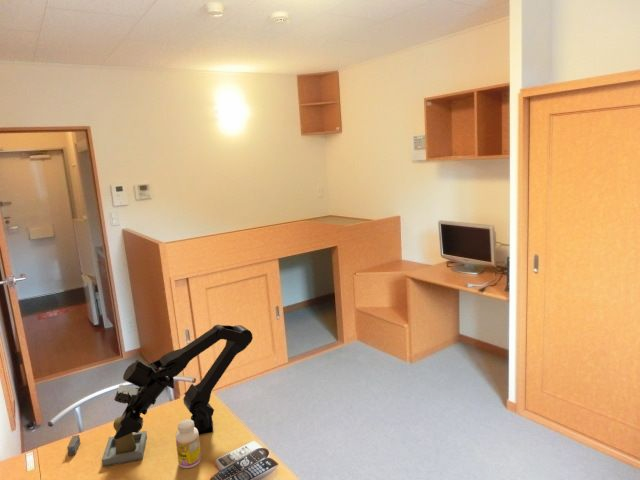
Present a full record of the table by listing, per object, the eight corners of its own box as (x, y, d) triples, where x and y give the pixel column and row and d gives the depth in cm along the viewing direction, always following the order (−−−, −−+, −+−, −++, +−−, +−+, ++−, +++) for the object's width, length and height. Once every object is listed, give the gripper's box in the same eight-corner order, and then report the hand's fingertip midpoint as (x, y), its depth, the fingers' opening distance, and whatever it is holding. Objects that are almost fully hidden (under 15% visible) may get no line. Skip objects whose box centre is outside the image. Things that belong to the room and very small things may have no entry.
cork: (128, 456, 138) (124, 424, 136) (111, 455, 139) (106, 423, 137) (140, 444, 143) (136, 413, 141) (123, 442, 145) (119, 412, 143)
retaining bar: (80, 443, 146) (79, 435, 146) (75, 454, 141) (74, 446, 140) (73, 444, 146) (72, 436, 145) (68, 455, 140) (67, 447, 140)
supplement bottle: (174, 462, 135) (169, 424, 132) (193, 451, 140) (189, 414, 137) (186, 472, 130) (181, 433, 128) (205, 460, 135) (201, 422, 133)
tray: (147, 437, 148) (146, 430, 147) (142, 459, 137) (141, 452, 137) (110, 444, 145) (109, 437, 145) (102, 467, 134) (101, 459, 134)
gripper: (133, 364, 146) (102, 401, 146) (124, 392, 129) (88, 434, 128) (161, 382, 150) (130, 418, 149) (156, 412, 132) (121, 453, 131)
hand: (117, 429), depth 139 cm, fingers open, 9 cm apart
